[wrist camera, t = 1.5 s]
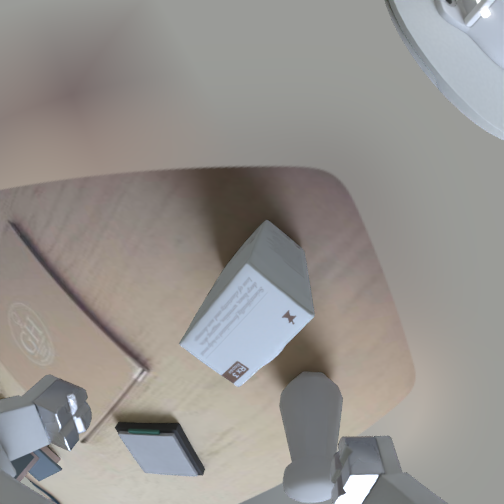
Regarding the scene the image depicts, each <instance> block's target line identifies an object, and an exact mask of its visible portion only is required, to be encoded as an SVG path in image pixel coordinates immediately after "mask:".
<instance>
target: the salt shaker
mask: <svg viewBox="0 0 504 504" xmlns="http://www.w3.org/2000/svg"><path fill="white" fill-rule="evenodd" d="M342 402H343V397H342V395H341V392H340V390H339V388H338V386H337V385H336V384H335V383H334V382H333V381H331V380H330V379H329V378H328V377H327V376H325V375H324V374H323V373H322V372H302V373H301V374H300V375H298V376H297V377H296V378H295V379H293V380H292V381H291V382H290V383H289V384H288V385H287V386H286V388H285V389H284V390H283V391H282V393H281V397H280V405H279V406H280V411H281V415H282V420H283V424H284V429H285V433H286V437H287V442H288V446H289V451H290V455H291V460H292V463H291V464H289V465H288V466H287V467H286V469H285V472H284V477H283V489H284V491H285V493H286V494H287V496H289V497H290V498H291V499H294V500H296V501H298V502H304V503H317V502H322V501H325V500H328V499H330V498H332V496H331V491H332V489H333V487H334V484H333V483H332V482H331V481H330V467H331V461H332V458H333V456H334V454H335V453H336V451H337V443H338V436H339V428H340V420H341V411H342Z"/></svg>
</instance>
